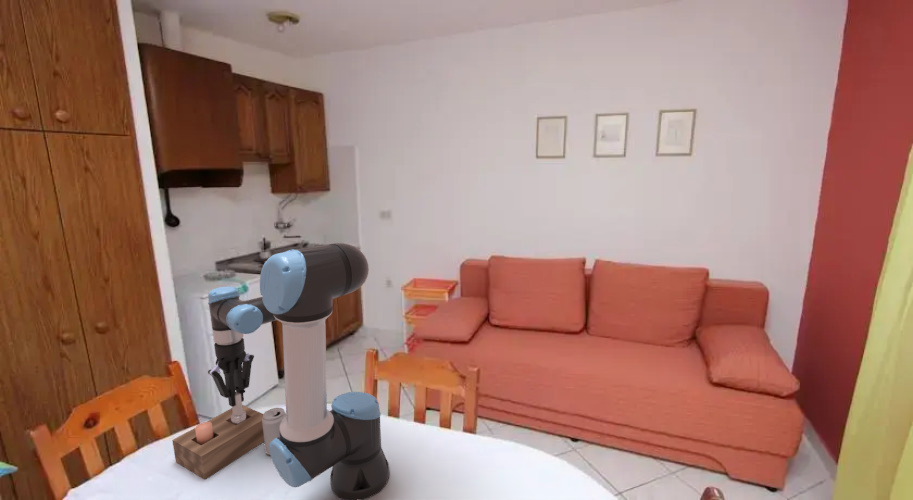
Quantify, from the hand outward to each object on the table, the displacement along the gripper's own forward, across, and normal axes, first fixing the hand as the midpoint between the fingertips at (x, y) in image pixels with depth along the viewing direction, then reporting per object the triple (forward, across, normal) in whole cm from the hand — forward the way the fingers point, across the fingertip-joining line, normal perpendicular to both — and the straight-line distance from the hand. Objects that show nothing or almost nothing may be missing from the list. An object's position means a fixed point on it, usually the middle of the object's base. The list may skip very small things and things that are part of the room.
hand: (237, 413), depth 122 cm
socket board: (+9, +5, 0) cm, 10 cm away
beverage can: (+9, -2, +14) cm, 17 cm away
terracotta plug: (+4, +10, 0) cm, 11 cm away
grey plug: (+6, 0, 0) cm, 6 cm away
